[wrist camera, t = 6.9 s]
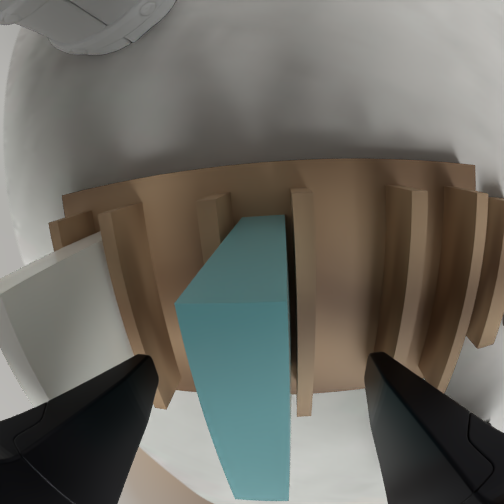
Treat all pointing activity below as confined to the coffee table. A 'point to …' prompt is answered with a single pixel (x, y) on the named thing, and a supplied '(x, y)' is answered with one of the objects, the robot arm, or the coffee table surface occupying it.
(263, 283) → the teal rectangular prism
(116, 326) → the cream plate
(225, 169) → the rack
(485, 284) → the wooden slats
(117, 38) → the mug
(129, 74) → the coffee table surface
